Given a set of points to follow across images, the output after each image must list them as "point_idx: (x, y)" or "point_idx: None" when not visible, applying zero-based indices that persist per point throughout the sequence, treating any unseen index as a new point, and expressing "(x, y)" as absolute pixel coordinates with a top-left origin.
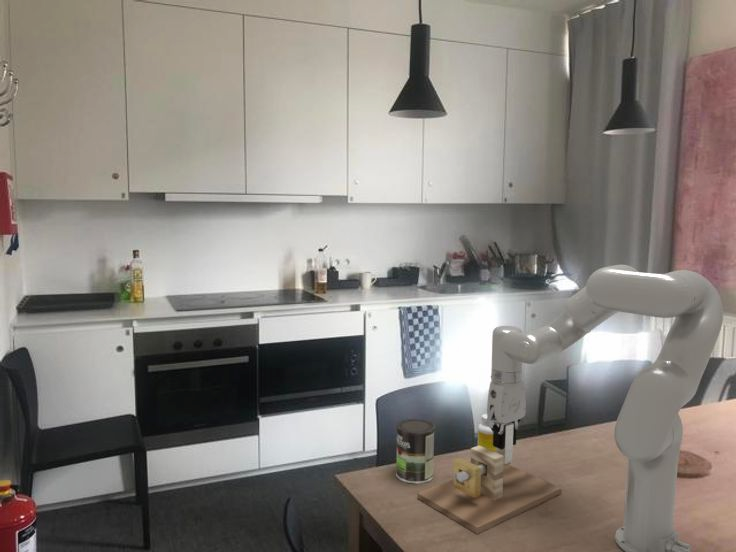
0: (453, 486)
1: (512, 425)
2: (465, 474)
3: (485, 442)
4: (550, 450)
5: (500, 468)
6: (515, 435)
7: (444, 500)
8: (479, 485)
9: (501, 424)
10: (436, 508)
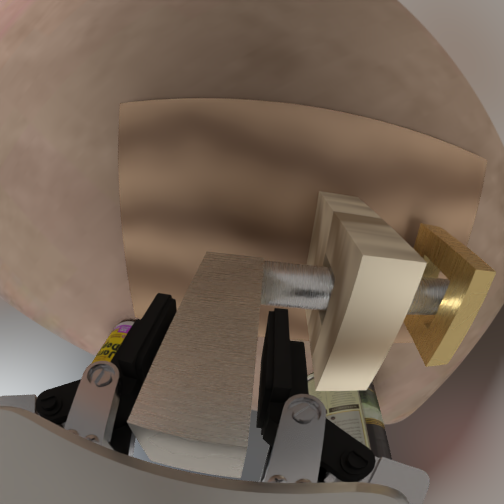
0: None
1: (147, 414)
2: None
3: None
4: (18, 267)
5: (365, 230)
6: (142, 332)
7: None
8: (443, 237)
9: (309, 477)
10: None
